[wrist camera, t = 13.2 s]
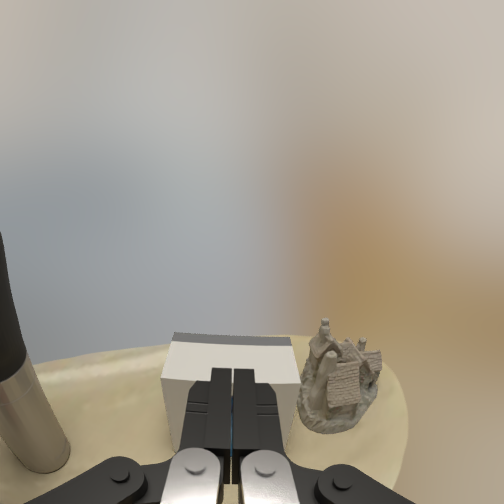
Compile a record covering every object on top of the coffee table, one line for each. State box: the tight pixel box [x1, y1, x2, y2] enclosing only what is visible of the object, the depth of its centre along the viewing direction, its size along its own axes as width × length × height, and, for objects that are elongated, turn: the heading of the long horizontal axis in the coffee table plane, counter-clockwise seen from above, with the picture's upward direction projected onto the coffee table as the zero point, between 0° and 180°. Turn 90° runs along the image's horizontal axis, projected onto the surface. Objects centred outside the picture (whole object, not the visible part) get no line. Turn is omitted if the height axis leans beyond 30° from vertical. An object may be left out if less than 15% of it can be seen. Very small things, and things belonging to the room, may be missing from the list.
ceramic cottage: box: [297, 318, 382, 434], centre depth 45 cm, size 16×16×15 cm
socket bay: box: [161, 332, 301, 452], centre depth 37 cm, size 15×9×15 cm, turn 92°
